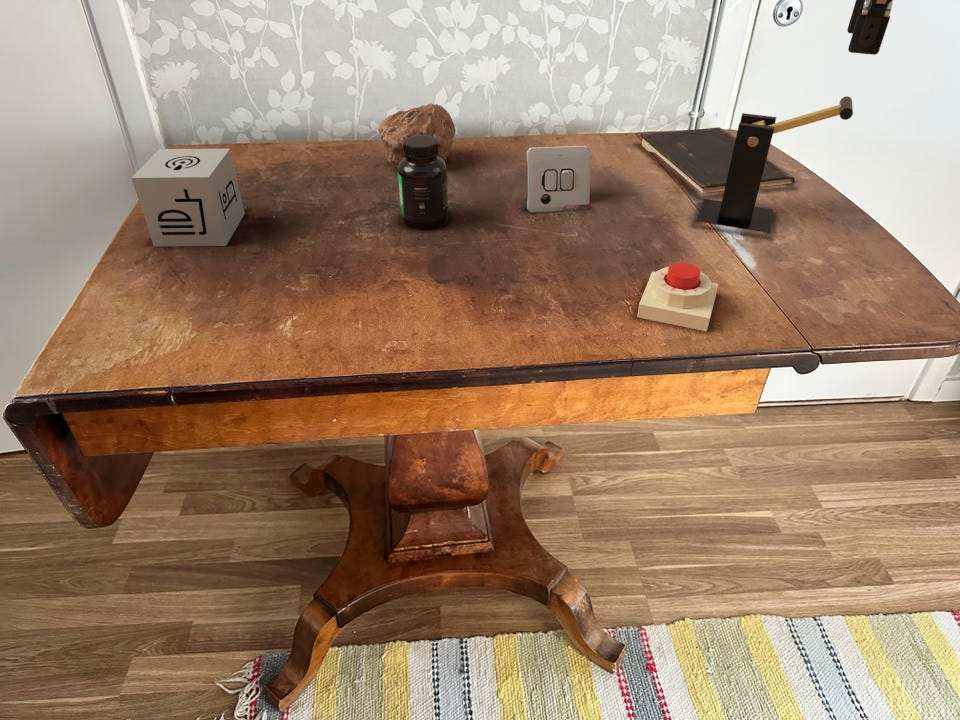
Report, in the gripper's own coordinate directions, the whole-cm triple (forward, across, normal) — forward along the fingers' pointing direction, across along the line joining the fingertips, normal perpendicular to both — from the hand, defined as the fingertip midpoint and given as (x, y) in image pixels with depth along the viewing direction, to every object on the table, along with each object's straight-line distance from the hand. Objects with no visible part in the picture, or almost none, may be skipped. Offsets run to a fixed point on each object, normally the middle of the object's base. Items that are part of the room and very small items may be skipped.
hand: (861, 42), depth 84 cm
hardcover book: (+25, +19, +15) cm, 35 cm away
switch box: (+25, -27, +13) cm, 39 cm away
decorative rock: (+26, +2, +61) cm, 67 cm away
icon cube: (+26, -31, +80) cm, 90 cm away
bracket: (+25, -1, +9) cm, 27 cm away
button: (+22, -27, +13) cm, 37 cm away
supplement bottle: (+26, -17, +51) cm, 60 cm away
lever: (+11, -1, +4) cm, 12 cm away
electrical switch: (+26, -5, +35) cm, 44 cm away
